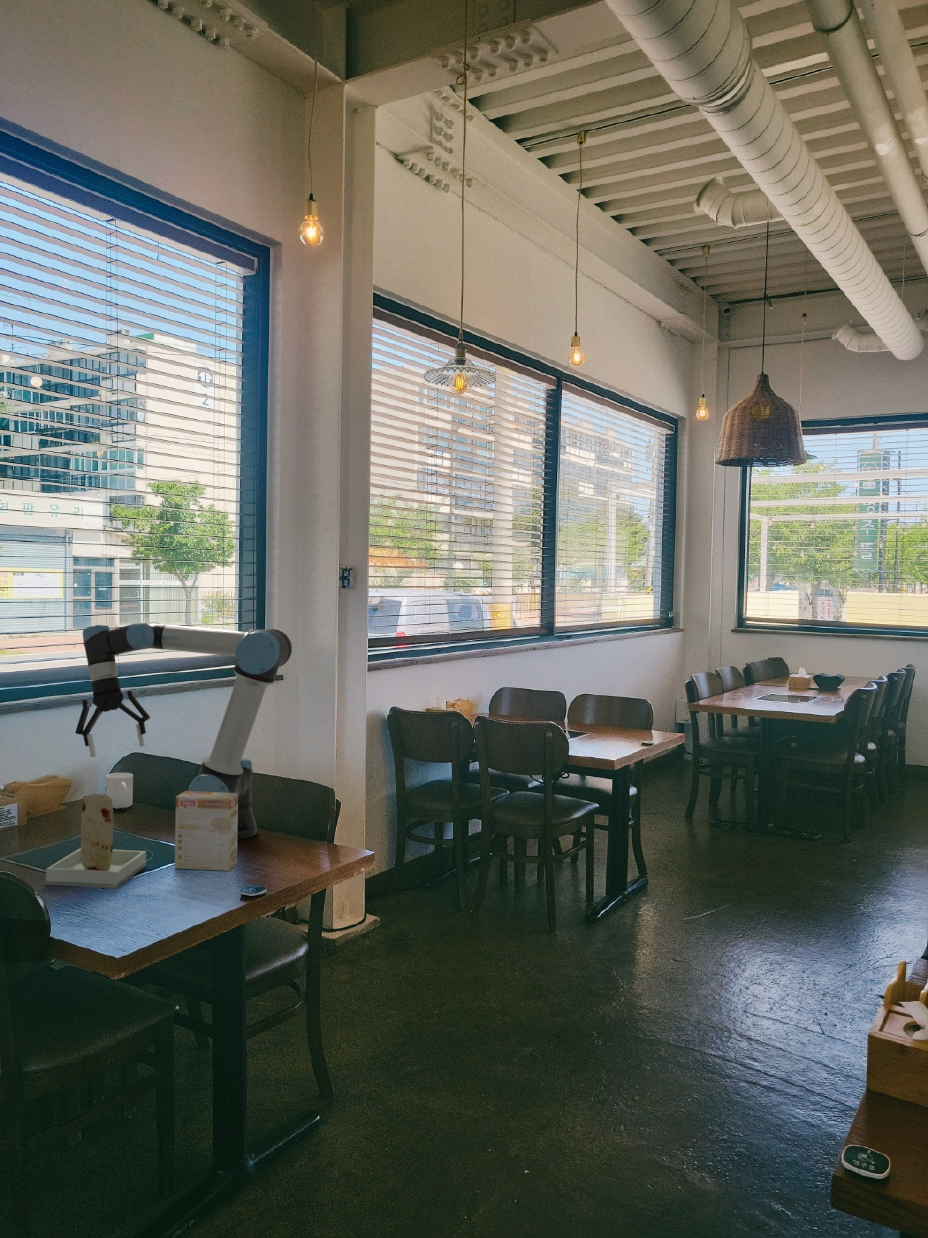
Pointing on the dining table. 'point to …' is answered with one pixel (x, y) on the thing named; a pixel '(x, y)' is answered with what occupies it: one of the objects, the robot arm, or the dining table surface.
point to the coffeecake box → (206, 830)
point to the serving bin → (75, 874)
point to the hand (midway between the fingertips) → (118, 751)
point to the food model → (97, 832)
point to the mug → (120, 789)
